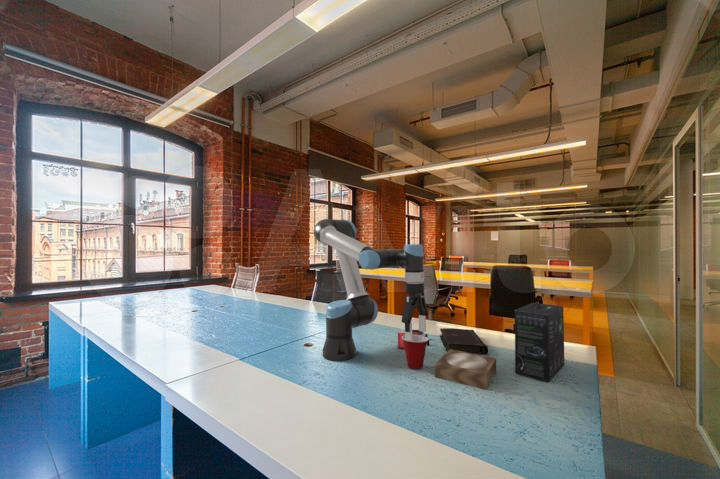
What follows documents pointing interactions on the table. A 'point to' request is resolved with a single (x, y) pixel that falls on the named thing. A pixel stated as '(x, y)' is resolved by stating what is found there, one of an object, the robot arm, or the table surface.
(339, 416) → the table surface
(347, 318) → the robot arm
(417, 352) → the plastic cup
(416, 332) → the red board with handle
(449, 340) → the diary
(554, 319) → the headset box
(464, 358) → the walnut pedestal
